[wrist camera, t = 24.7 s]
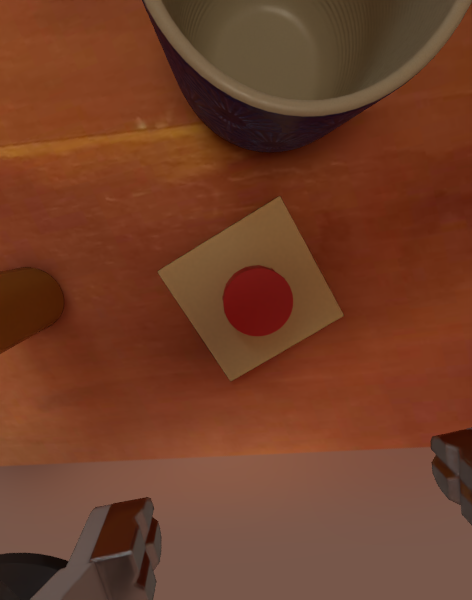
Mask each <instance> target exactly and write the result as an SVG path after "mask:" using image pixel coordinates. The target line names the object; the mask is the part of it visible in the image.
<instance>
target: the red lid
mask: <svg viewBox="0 0 472 600" xmlns="http://www.w3.org/2000/svg"><path fill="white" fill-rule="evenodd" d="M222 299H223V304H224V313H225V314H226V317H227V319H228V321H229V322H230V324H231V325H232V326H233V327H234V328H235V329H237V330H238V331H240V332H241V333H243V334H246V335H249V336H265V335H269V334H272V333H274V332H276V331H277V330H279V329H280V328H281V327H282V326H283V325H284V324H285V323H286V322H287V320H288V319H289V317H290V315H291V312H292V308H293V294H292V291H291V288H290V286H289V284H288V283H287V281H286V280H285V278H284V277H282V276H281V275H280V274H278V273H277V272H275V270H273V269H272V268H271V269H270V268H268V267H265V266H260V265H255V266H248V267H246V266H245V268H243V269H241V270H239V271H237V272H236V273H234V275H232V277H231V278H230V279H229V280H228V282H227V283H226V286H225V289H224V293H223V296H222Z"/></svg>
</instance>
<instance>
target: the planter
mask: <svg viewBox="0 0 472 600" xmlns="http://www.w3.org/2000/svg"><path fill="white" fill-rule="evenodd" d="M142 1H143V4H144V6H145V8H146V11H147V13H148V15H149V18H150V20H151V22H152V25H153V27H154V29H155V32H156V34H157V36H158V39H159V41H160V43H161V46H162V48H163V50H164V53H165V55H166V57H167V60H168V62H169V64H170V66H171V69H172V71H173V73H174V76H175V78H176V80H177V82H178V85H179V87H180V89H181V91H182V93H183V95H184V96H185V98H186V100H187V101H188V103H189V105H190V106H191V107H192V109H193V110H194V112H195V113H196V114H197V115H198V117H199V118H200V119H201V120H202V121H203V122H204V123H205V124H206V125H207V126H208V127H209V128H210V129H211V130H212V131H214V132H215V133H216V134H218V135H219V136H220V137H222V138H223V139H225V140H227V141H228V142H230V143H232V144H235V145H237V146H239V147H242V148H245V149H248V150H253V151H258V152H281V151H288V150H292V149H296V148H300V147H302V146H305V145H307V144H310V143H312V142H314V141H316V140H317V139H319V138H321V137H323V136H325V135H326V134H328V133H329V132H331V131H332V130H334V129H336V128H337V127H339V126H340V125H342V124H343V123H345V122H347V121H348V120H350V119H351V118H353V117H354V116H356V115H358V114H359V113H361V112H362V111H364V110H366V109H367V108H369V107H370V106H372V105H373V104H375V103H377V102H378V101H380V100H381V99H383V98H384V97H386V96H388V95H389V94H391V93H392V92H394V91H395V90H397V89H398V88H400V87H401V86H403V85H404V84H405V83H407V82H408V81H409V80H410V79H411V78H413V77H414V76H415V75H416V74H417V73H419V72H420V71H421V70H422V69H423V68H424V67H425V66H426V65H427V64H428V63H429V62H430V61H431V60H432V59H433V58H434V57H435V55H436V54H437V53H438V52H439V51H440V49H441V48H442V47H443V46H444V44H445V43H446V42H447V41H448V39H449V38H450V37H451V35H452V34H453V32H454V31H455V29H456V28H457V26H458V25H459V23H460V22H461V20H462V18H463V17H464V15H465V13H466V11H467V9H468V8H469V6H470V4H471V2H472V0H142Z"/></svg>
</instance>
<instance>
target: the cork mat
mask: <svg viewBox="0 0 472 600" xmlns="http://www.w3.org/2000/svg"><path fill="white" fill-rule="evenodd" d="M255 265H260V266H265V267H268V268H270V269H271V268H272V269H273V270H275V272H277V273H278V274H280V275H281V276H282V277H284V278H285V280H286V281H287V283H288V284H289V286H290V288H291V291H292V294H293V308H292V312H291V315H290V317H289V319H288V320H287V322H286V323H285V324H284V325H283V326H282V327H281V328H280V329H279V330H277V331H276V332H274V333H272V334H269V335H265V336H249V335H246V334H243V333H241V332H240V331H238V330H237V329H235V328H234V327H233V326H232V325H231V324H230V322H229V321H228V319H227V317H226V314H225V313H224V304H223V299H222V296H223V293H224V289H225V286H226V283H227V282H228V280H229V279H230V278H231V277H232V275H234V273H236V272H237V271H239V270H241V269H243V268H245V266H246V267H248V266H255ZM158 274H159V275H160V277H161V278H162V280H163V281H164V283H165V284H166V286H167V287H168V289H169V290H170V292H171V293H172V295H173V296H174V298H175V299H176V301H177V302H178V304H179V305H180V307H181V308H182V310H183V311H184V313H185V314H186V316H187V317H188V319H189V320H190V322H191V323H192V325H193V326H194V328H195V329H196V331H197V332H198V334H199V335H200V337H201V338H202V340H203V341H204V343H205V344H206V346H207V347H208V349H209V350H210V352H211V353H212V355H213V356H214V358H215V359H216V361H217V362H218V364H219V365H220V367H221V368H222V370H223V371H224V373H225V374H226V376H227V377H228V379H229V380H230V381H233V380H234V379H236V378H238V377H240V376H241V375H243V374H245V373H246V372H248V371H250V370H252V369H253V368H255V367H257V366H258V365H260V364H262V363H264V362H265V361H267V360H269V359H271V358H272V357H274V356H276V355H277V354H279V353H281V352H283V351H284V350H286V349H288V348H289V347H291V346H293V345H295V344H296V343H298V342H300V341H301V340H303V339H305V338H307V337H308V336H310V335H312V334H314V333H315V332H317V331H319V330H320V329H322V328H324V327H326V326H327V325H329V324H331V323H332V322H334V321H336V320H338V319H339V318H341V317H343V316H344V315H343V313H342V311H341V309H340V307H339V305H338V303H337V302H336V300H335V298H334V296H333V294H332V292H331V290H330V288H329V287H328V285H327V283H326V281H325V279H324V277H323V275H322V274H321V272H320V270H319V268H318V266H317V264H316V262H315V260H314V259H313V257H312V255H311V253H310V251H309V249H308V247H307V245H306V244H305V242H304V240H303V238H302V236H301V234H300V232H299V231H298V229H297V227H296V225H295V223H294V221H293V219H292V217H291V216H290V214H289V212H288V210H287V208H286V206H285V204H284V202H283V201H282V199H281V197H280V196H279V197H277V198H275V199H274V200H272V201H271V202H269V203H267V204H266V205H264V206H263V207H261V208H259V209H258V210H256V211H254V212H253V213H251V214H250V215H248V216H246V217H245V218H243V219H241V220H240V221H238V222H237V223H235V224H233V225H232V226H230V227H228V228H227V229H225V230H224V231H222V232H220V233H219V234H217V235H216V236H214V237H212V238H211V239H209V240H207V241H206V242H204V243H203V244H201V245H199V246H198V247H196V248H194V249H193V250H191V251H190V252H188V253H186V254H185V255H183V256H181V257H180V258H178V259H177V260H175V261H173V262H172V263H170V264H169V265H167V266H165V267H164V268H162V269H160V270H159V271H158Z"/></svg>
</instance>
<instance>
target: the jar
mask: <svg viewBox="0 0 472 600" xmlns="http://www.w3.org/2000/svg"><path fill="white" fill-rule="evenodd" d="M63 307H64V297H63V293H62V290H61V288H60V286H59V285H58V283H57V282H56V281H55V280H54V279H53V278H52V277H51V276H50V275H49V274H47V273H45V272H44V271H41V270H39V269H36V268H31V267H23V268H16V269H11V270H6V271H0V354H1V353H3V352H5V351H7V350H8V349H10V348H12V347H14V346H15V345H17V344H19V343H21V342H22V341H24V340H26V339H28V338H29V337H31V336H33V335H35V334H37V333H38V332H40V331H42V330H44V329H45V328H47V327H49V326H51V325H52V324H54V323H55V322H56V321H57V320H58V319H59V317H60V315H61V314H62V311H63Z"/></svg>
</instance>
